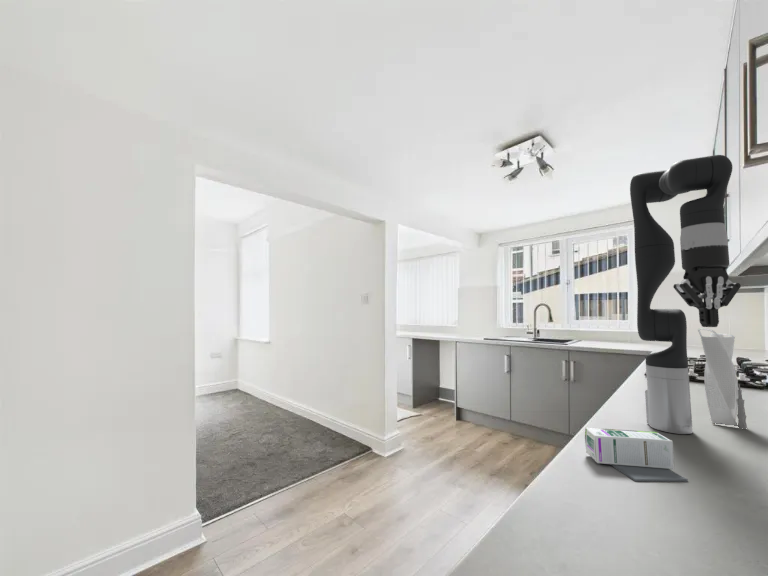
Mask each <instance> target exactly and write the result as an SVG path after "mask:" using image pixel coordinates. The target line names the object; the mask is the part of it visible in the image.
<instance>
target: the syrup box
mask: <svg viewBox="0 0 768 576" xmlns="http://www.w3.org/2000/svg"><path fill="white" fill-rule="evenodd" d="M584 444H585V445H584V446H585V453H586V454H588V455H589V456H590V458H591V459H593V461H594V462H595V463H596V464H604V465H610V464H614V465H626V466H638V467H651V468H663V469H669V470H674V469H675V456H674V453H675V452H674V442H673V440H672V439H669V438H668V437H666V436H664V435H662V434H661V433H659V432H657V431H646V430H644V431H643V430H632V429H630V430H629V429H614V428H612V429H611V428H600V427H599V428H597V427H595V428H594V427H585V429H584Z"/></svg>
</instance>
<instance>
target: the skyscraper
mask: <svg viewBox="0 0 768 576" xmlns="http://www.w3.org/2000/svg"><path fill="white" fill-rule="evenodd" d="M701 330H702V331H708V332H709V331H710V332H711V333H709V334H710V335H708V336H707V335H702V333H701ZM697 332H698V334H699V337H700V340H701V344H702V349H703V353H704V357H705V365H704V373H703V374H704V391H705V397H706V403H707V408H708V412H709V420H710V419H711V421H712V422H711V421H710V422H711V424H712V425H713V426H715V423H716V424H725V425H734V426H738V427H739V428H743V429H746V428H747V429H748V426H747V415H746V410H745V399H743V394H742V393H743V392H742V389H741V383H738V377H737V376H738V375H737V372H736V369H735V366H734V363H733V360H732V359H733V356H734V355H733V354H734V348H735V345H734V344H735V337H736V336H735V335H733V334H729V333H717V332H716V331H715V330H713V329H711V328H708V327H701V328H698V329H697ZM736 421H737V422H736ZM737 423H738V425H737Z"/></svg>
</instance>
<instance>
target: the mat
mask: <svg viewBox="0 0 768 576" xmlns="http://www.w3.org/2000/svg"><path fill="white" fill-rule="evenodd" d="M609 465H610V466H611V467H613V468H614V469H616V470H617V471H619V472H620V473H622V474H623V475H625V476H627V478H629V479H631V480H633V481H634V482H676V483H677V482H685V483H686V482H688V481H689V480H688V478H686V477H684V476H682V475H681V474H679V473H677V472H675V471H672V469H663V468H651V467H638V466H626V465H614V464H609Z"/></svg>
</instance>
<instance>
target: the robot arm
mask: <svg viewBox="0 0 768 576" xmlns="http://www.w3.org/2000/svg"><path fill="white" fill-rule="evenodd" d="M732 173H733V163H732V161H731V159H730V158H729V157H727V156H725V154H724V155H723V154H715V155H714V154H713V155H708V156H702V157H695V158H694V157H693V158H689V159H682V160H678V161H676V162H673V164H672V165H671V166H670V168H668V170H658V171H657V170H655V171H650V172H649V171H648V172H642V173H641V172H640V173H636V174H635V175H633V177H632V178H631V180H630V183H629V184H630V185H629V195H630V203H631V210H632V218H633V229H634V261H635V273H636V284H637V304H636V305H637V307H636V309H637V310H636V312H637V313H636V316H637V317H636V318H637V321H636V323H637V325H636V326H637V327H636V328H637V333H638V336H639V337H638V338H640V339H641V340H642V341H645V342H667V343H671V345H670V346H669V347H668V348H666V349H664V350H661V351H657V352H652V353H649V354H646V355H645V374H646V388H647V389H645V391H644V396H645V398H644V399H645V411H646V412H645V413H646V424H648V425H649V426H650V427H651V428H652V429H655V430H658V431H660V432H661V431H662V432H666V433H669V434H670V433H671V434H677V435H678V434H679V435H690V434H693V432H694V431H693V420H692V419H693V418H692V417H693V416H692V402H691V389H690V388H691V387H690V375H689V374H690V373H689V363H688V361H689V359H688V349H687V347H688V345H687V343H688V342H687V337H688V335H687V331H688V329H687V328H688V327H687V317H686V314H685V313H684V311H683V310H682V309H678V308H665V309H664V308H655V309H654V308H651V304H652V301H653V298H654V297H655V295H656V292H657V291H658V289H659V288H660V286H661V285H662V284H663V283H664V281H665V280H666V279H667V277H668V276H669V275H670V273H671V272H672V270H673V269H674V266H675V265H676V254H675V253H676V252H675V243H674V240H673V238H672V236H671V235H670V234H669V233H668V232H667V231H666V230H665V229H664V228H663V227H662V225H660V224H659V223H658V222H657V221H656V220H655V218H654V217H653V215H652V214H651V213H650V210H649V208H648V204H651V203H664V202H667V201H670V200H672V199H674V198H675V197H676V196H678V195H681V194H686V193H689V192H694V191H705V190H706V195H704V196H702V197H698V198H696V199H695V198H694V199H691V200H690V201H686V202H684V203H683V204H682V205H681V206H680V208H679V221H680V237H679V241H680V242H679V243H680V244H679V245H680V256H681V268H682V270H683V271H684V274H683V280H681V281H680V282H679V283H675V284H673V286H672V287H673V289H674V290H675V291H676V293H677V294H678V295H679V296H680V297H681V298H682V299H683V301H684V302H685V303H686V305H687V306H688V307H693V308H696V309H697V310H698V317H699V320H698V321H699V323H700V325H701V328H717V327H718V325H719V323H720V320H719V319H720V317H719V316H720V315H719V309H721V308H722V307H727V306H729V304H730V303H731V301H732V300H733V298H734V297H735V295H736V294H737V293H738V291H739V290H740V288H741V287H742V286H741V283H739V282H733V281H732V280H730V279H729V278H730V277H729V274H728V272H727V268H729V266H730V254H729V243H728V242H729V241H728V233H727V229H726V224H725V214H724V213H725V212H724V211H725V210H724V204H725V198H726V193H727V189H728V185H729V182H730V179H731V176H732Z"/></svg>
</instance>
